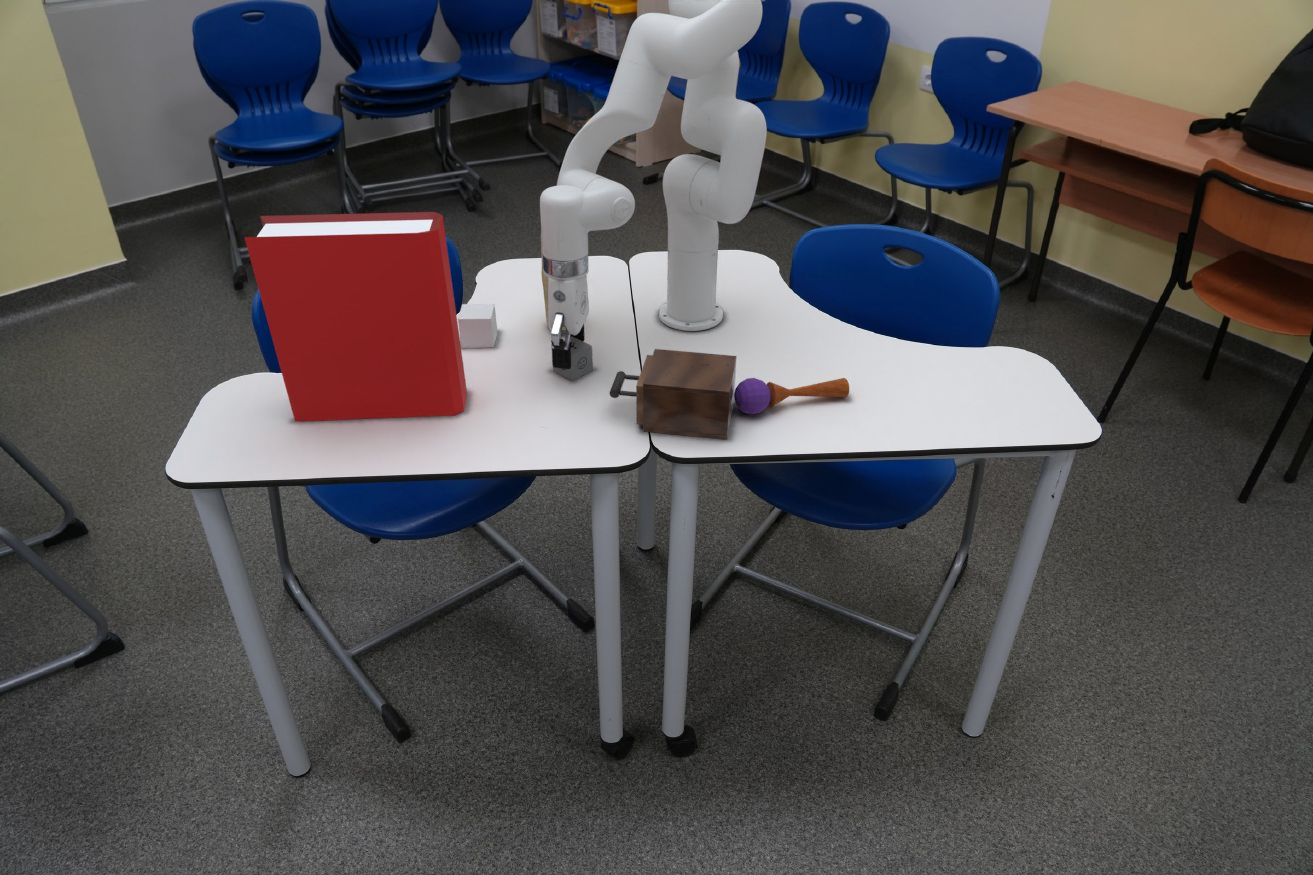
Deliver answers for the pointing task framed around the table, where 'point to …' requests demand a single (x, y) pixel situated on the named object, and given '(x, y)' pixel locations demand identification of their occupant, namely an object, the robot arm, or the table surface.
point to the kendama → (782, 393)
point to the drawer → (638, 394)
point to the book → (361, 314)
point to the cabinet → (689, 394)
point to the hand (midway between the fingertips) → (568, 354)
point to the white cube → (477, 325)
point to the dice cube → (577, 360)
